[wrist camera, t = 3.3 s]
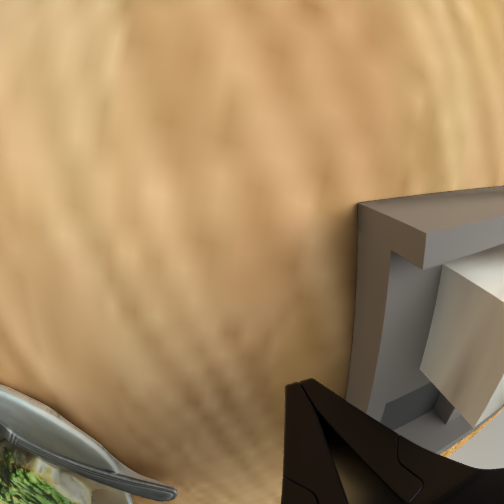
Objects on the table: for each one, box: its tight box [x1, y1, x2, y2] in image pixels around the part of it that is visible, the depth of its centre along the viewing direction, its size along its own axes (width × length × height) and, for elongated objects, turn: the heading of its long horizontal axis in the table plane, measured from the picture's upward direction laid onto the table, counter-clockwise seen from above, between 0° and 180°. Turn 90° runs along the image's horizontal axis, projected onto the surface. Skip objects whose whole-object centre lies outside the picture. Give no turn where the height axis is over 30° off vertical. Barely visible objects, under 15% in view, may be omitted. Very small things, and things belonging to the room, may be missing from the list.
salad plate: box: [0, 384, 177, 504], centre depth 9 cm, size 19×18×5 cm
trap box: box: [345, 186, 504, 454], centre depth 13 cm, size 19×16×4 cm
